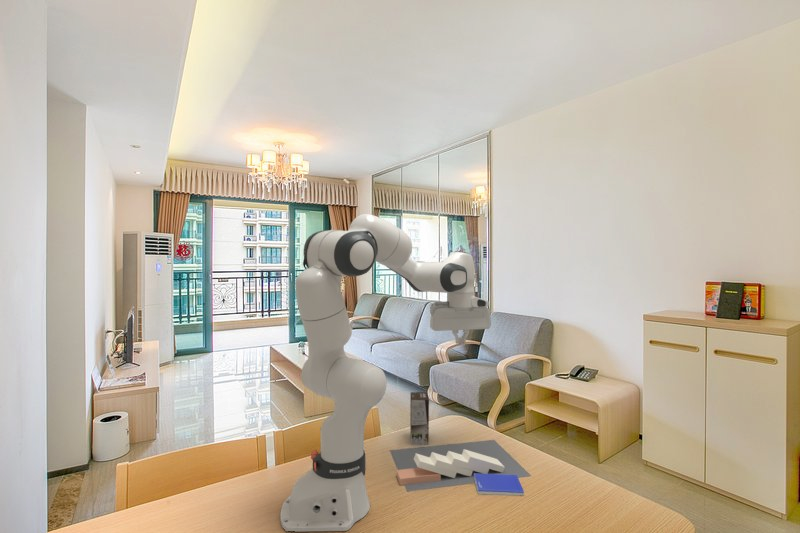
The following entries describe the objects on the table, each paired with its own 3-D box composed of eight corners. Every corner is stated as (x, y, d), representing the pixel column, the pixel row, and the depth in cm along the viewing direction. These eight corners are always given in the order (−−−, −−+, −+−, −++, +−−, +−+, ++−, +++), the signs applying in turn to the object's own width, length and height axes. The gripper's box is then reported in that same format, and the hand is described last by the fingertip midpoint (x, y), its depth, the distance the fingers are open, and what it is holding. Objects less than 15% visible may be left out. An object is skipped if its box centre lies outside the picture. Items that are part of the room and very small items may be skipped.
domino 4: (502, 472, 121) (468, 462, 119) (495, 464, 126) (461, 454, 124) (504, 466, 121) (470, 456, 119) (497, 459, 126) (463, 449, 124)
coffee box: (429, 446, 140) (429, 399, 139) (410, 446, 140) (410, 399, 139) (427, 435, 149) (427, 391, 148) (410, 434, 149) (410, 391, 149)
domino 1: (454, 478, 118) (417, 467, 115) (448, 469, 123) (413, 458, 120) (456, 472, 118) (420, 461, 116) (450, 464, 123) (415, 453, 120)
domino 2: (470, 476, 119) (434, 465, 116) (464, 468, 124) (429, 457, 121) (472, 470, 119) (437, 459, 117) (466, 462, 124) (431, 451, 121)
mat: (407, 492, 111) (407, 491, 111) (389, 451, 136) (389, 450, 136) (531, 477, 120) (531, 476, 120) (494, 440, 144) (494, 439, 144)
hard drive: (478, 489, 110) (524, 491, 109) (473, 472, 118) (516, 474, 118) (477, 495, 110) (523, 496, 110) (473, 477, 118) (516, 479, 118)
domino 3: (487, 474, 120) (451, 464, 118) (480, 466, 125) (446, 456, 122) (489, 468, 120) (454, 458, 118) (482, 460, 125) (448, 450, 123)
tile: (440, 480, 117) (400, 485, 114) (435, 471, 122) (396, 476, 119) (440, 474, 117) (400, 478, 114) (435, 465, 122) (396, 470, 119)
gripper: (433, 302, 127) (433, 346, 127) (493, 301, 131) (493, 343, 131) (427, 301, 133) (427, 342, 133) (485, 299, 137) (485, 340, 138)
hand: (460, 343), depth 132 cm, fingers closed
